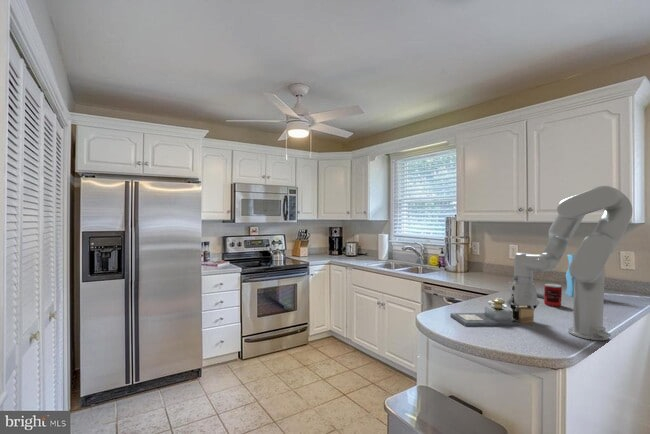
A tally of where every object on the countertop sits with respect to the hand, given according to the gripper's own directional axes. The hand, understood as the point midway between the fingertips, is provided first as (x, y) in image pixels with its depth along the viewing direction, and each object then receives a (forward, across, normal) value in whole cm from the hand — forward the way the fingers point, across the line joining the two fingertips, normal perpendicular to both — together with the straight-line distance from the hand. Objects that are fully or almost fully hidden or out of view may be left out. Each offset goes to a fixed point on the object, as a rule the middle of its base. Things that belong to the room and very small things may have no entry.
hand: (522, 318), depth 151 cm
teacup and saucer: (+2, +6, +29) cm, 30 cm away
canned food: (+1, +36, +26) cm, 44 cm away
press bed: (+1, -19, 0) cm, 19 cm away
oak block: (+1, 0, 0) cm, 1 cm away
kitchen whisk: (+1, +40, +49) cm, 63 cm away
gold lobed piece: (-4, -12, 0) cm, 13 cm away
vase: (+1, +68, +45) cm, 82 cm away
